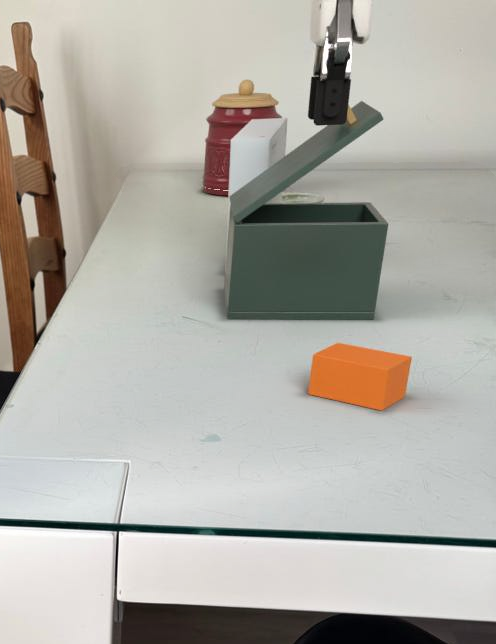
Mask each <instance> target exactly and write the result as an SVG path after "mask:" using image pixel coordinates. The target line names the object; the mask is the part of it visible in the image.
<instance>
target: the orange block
mask: <svg viewBox="0 0 496 644" xmlns="http://www.w3.org/2000/svg"><path fill="white" fill-rule="evenodd" d="M412 358H413V356H411V355H404V354H399V353H394V352H390V351H385V350H379V349H373V348H368V347H363V346H357V345H353V344H347V343H342V342H336V343H334V344H331V345H330V346H328V347H326V348H324V349H321V350H320V351H318V352H315V353H313V354H312V359H311V360H312V361H311V369H310V376H309V382H308V383H309V384H308V391H307V394H308V395H310V396H315V397H319V398H323V399H328V400H332V401H337V402H342V403H345V404H350V405H354V406H359V407H363V408H367V409H372V410H375V411H376V410H377V411H381V412H382V411H384V410H385V409H387V408H389V407H391V406H392V405H394V404H395V403H398V402H399V401H401V400H403V399H404V398H405V397H406V394H407V393H406V392H407V386H408V381H409V376H410V370H411V364H412V361H413V360H412Z"/></svg>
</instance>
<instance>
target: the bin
mask: <svg viewBox="0 0 496 644" xmlns="http://www.w3.org/2000/svg"><path fill="white" fill-rule="evenodd" d="M388 229H389V223H388V221H387V220H386V218H384V217H383V215H382V214H381V213H380V212H379V211H378V210H377V208H376V207H375V206H374V205H373V203H371V202H369V201H364V202H363V201H360V202H357V201H355V202H354V201H353V202H351V201H350V202H321V203H268V204H264V205H262V206H261V207H259V208H258V209H257V210H255V211H254V212H252V213H251V214H249V215H248V216H247V217H245V218H244V219H242V220H241V221H240V222H238V223H236V221H235V219H234V218H233V213H232V208H231V205H230V217H229V231H228V244H227V257H226V256H225V265H226V270H225V269H224V285H223V286H224V287H223V293H224V302H225V311H226V319H227V320H370V321H371V320H374V319H375V314H376V308H377V307H376V306H377V301H378V300H377V299H378V293H379V289H380V288H379V286H380V281H381V274H382V268H383V262H384V255H385V249H386V244H387V243H386V241H387V235H388V231H389V230H388Z"/></svg>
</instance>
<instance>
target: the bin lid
mask: <svg viewBox="0 0 496 644" xmlns="http://www.w3.org/2000/svg"><path fill="white" fill-rule="evenodd" d="M382 121H384V116H383V115H382V113H381V111H379V110H377V109H375V108H374V107H372V106H370V105H369V104H368V103H366V102H365V101H363V100H360V101H359V102H357V103H356V104H355V105H353V106H352V107H351V106H350V104H349V103H348V112H347V120H346V123H345V124H342V125H325V126H324V127H323V128H322V129H321V130H319V131H317V132H316V133H315V134H314V135H312V136H310V137H309V138H308V139H307V140H305V141H304V142H303V143H301V144H300V145H298V146H297V147H295V148H294V149H293V150H292V151H290V152H288V153H287V154H285V157H283V158H282V159H280V160H279V161H278V162H276V163H275V164H274V165H272V166H271V167H269V168H268V169H267V170H265V171H264V172H262V173H261V174H260V175H258V176H257V177H256V178H254V179H253V180H251V181H250V182H249V183H247V184H246V185H244V186H243V187H242V188H240V189H239V190H238V191H236V192H235V193H233V194H232V195H231V196H229V198H230V203H231V208H232V213H233V218H234V219H235V221H236V223H238V222H240V221H241V220H242V219H244V218H245V217H247V216H248V215H249V214H251V213H252V212H254V211H255V210H257V209H258V208H259V207H261V206H262V205H264V204H265V203H266V202H268V201H269V200H271V199H272V198H274V197H275V196H276V195H278V194H279V193H281V192H282V191H285V190H286V189H288V188H289V187H290V186H292V185H294V184H295V183H296V182H297V181H299V180H301V179H302V178H303V177H305V176H306V175H307V174H309V173H311V172H312V171H313V170H315V169H316V168H317V167H318V166H320V165H321V164H323V163H325V162H326V161H328V159H330V158H331V157H333V156H335V155H336V154H337V153H339V152H340V151H341V150H343V149H344V148H346V147H348V145H350V144H351V143H353V142H355V141H356V140H357V139H359V138H360V137H361V136H362V135H364V134H366V133H367V132H368V131H369V130H371V129H372V128H374V127H376V126H377V125H378V124H379V123H381V122H382ZM282 193H283V192H282Z"/></svg>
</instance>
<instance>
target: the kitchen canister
mask: <svg viewBox="0 0 496 644" xmlns="http://www.w3.org/2000/svg"><path fill="white" fill-rule="evenodd" d="M254 91H255V84H254V82H253V81H252V79H243V80H242V81H241V82H240V83H239V85H238V92H236V93H234V92H233V93H226V94H225V93H224V94H221V95H220V96H219V98H218V99H216V100H215V101H213V102H211V106H213V107H214V108H213V111H212V113H211V114H210V115H208V116H207V117H206V119H205V120H206V122H207V123H208V131H207V137H206V138H205V139H204V142H205V148H204V149H205V152H204V167H203V175H202V181H201V183H202V186H203V188H202V189H203V192H204V193H206V194H210V195H216V196H227V197H228V193H229V191H223V190H229V172H230V148H231V139H232V138H233V137H234V136H235V135H236V134H237V133H238V132H240V131H241V130H242V129H243V128H244V127H245V126H246V125H247V124H248V123H249V122H250V121H251V120H252V119H273V118H283V116H282V115H281V114H280V113H279V112H278V111H277V108H276V106H278V105H279V103H280V102H279V101H278V100H277V99H276V98H274V97H273V95H272V93H271V94H270V93H267V92H254ZM205 187H206V188H205ZM208 188H211V189H208ZM214 189H220V190H214Z"/></svg>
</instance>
